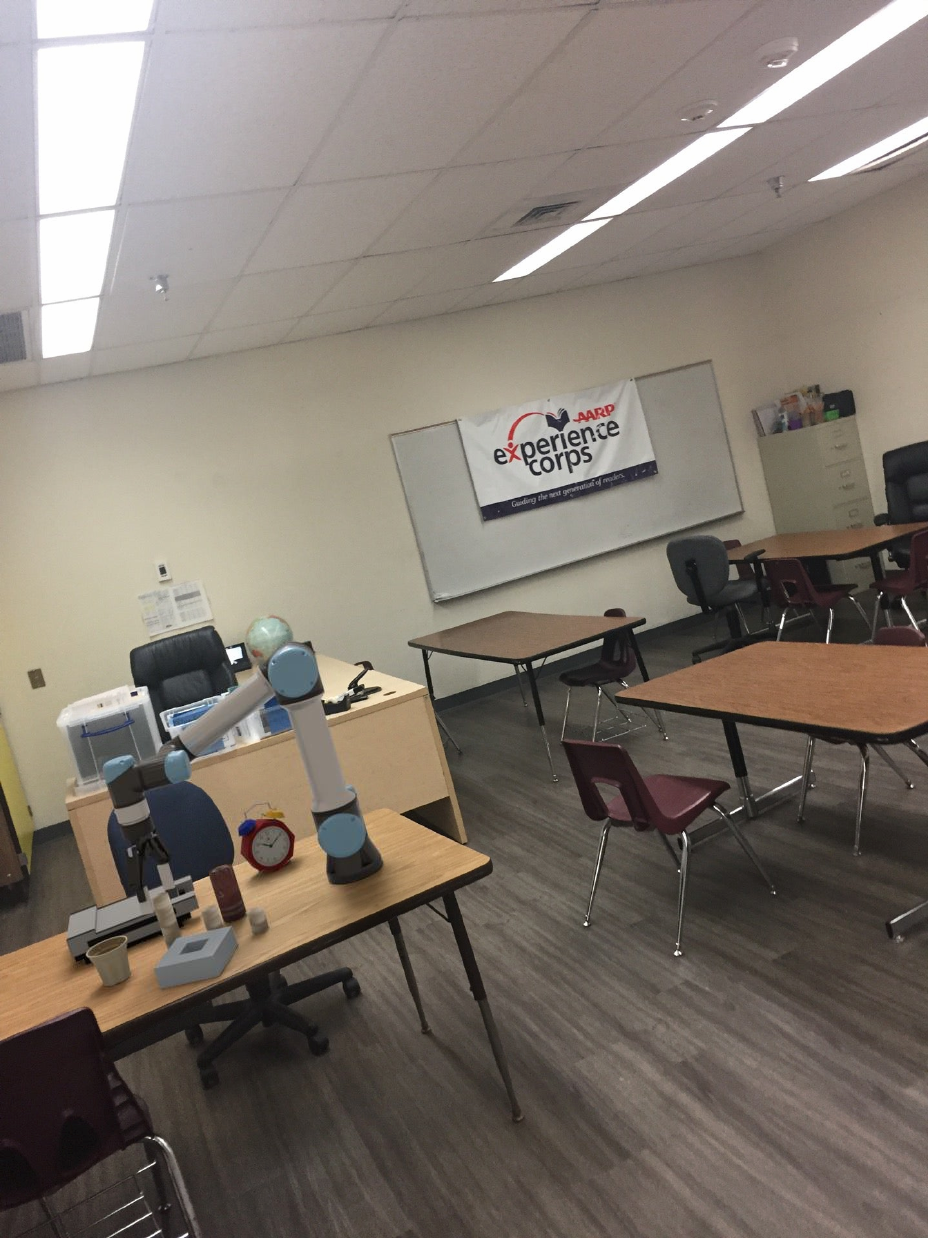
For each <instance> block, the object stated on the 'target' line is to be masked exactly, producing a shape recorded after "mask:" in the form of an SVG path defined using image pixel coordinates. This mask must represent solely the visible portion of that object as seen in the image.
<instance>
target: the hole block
mask: <svg viewBox="0 0 928 1238" xmlns="http://www.w3.org/2000/svg"><path fill="white" fill-rule="evenodd" d="M238 946H239V944H238V940H237V938H236V935H235V931H234V928H233V925H230V926H224V928H220V929H215V930H211V931H207V930H206V931H203V932H198V933H194V934H190V935H186V936H182V937H180V938H177V939H176V940H175V941H174V943H173V944H172V945H171V947H170V948H169V949H167V951H166V952H165V954H163V956H162V957H161V959H160V960H159V961H158V963H157V964H156V965H155V967H154V974H155V976H156V978H157V982H158V985H159V988H160V989H161V990H162V989H166V988H171V987H175V986H179V985H183V984H189V983H193V982H197V981H199V982H200V981H203V980H207V979H211V978H215V977H220V975H221V974H222V972H223V971H224V969H225V967H226V966H227V964H228V963H229V960H230V959H231V957H232V956H233V955H234V953H235V951H236V949H237V948H238Z"/></svg>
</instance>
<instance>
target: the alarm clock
mask: <svg viewBox="0 0 928 1238" xmlns="http://www.w3.org/2000/svg"><path fill="white" fill-rule="evenodd" d="M259 805H267V806H268V808H269V809H268V810H267V812H266V813H264V812H260V816H261V818H257V819H253V818H249V819H248V817H247V813H248V812H249V811H250V810H252V809H253V808H254V807H256V806H259ZM243 813H244V818H245V819H244V820H243V821H242V820H241V822H240V823H241V824H239V826H238V827H237V832H238V837H241V843H240V854H241V856H242V857H243V858H244V859H245V860H246V861H247V862H248V864H250V866H251V867H252V868H253V869H255V870H257V875H258V876H259V877H260V876H261V875H262V873H263V872H272V871H280V869H282V868H283V867H284V866H285V865H286V864H288V862H292V857H294V852H295V839H296V835H295V834H294V833H293V831H292V830H290V828H289V827H288V826H287V825H286V824H285V822H283V821H282V820H280V819H285V818H286V815H285V814H284V812H283V811H282V810H279V809H277V807H276V806H274V808H273V807H272V806H271V804H270V803H269V801H268V802H258V803H254V804H253V805H251V807H249V808H248V809H246V810H245V811H244V812H243ZM263 817H264V818H263Z"/></svg>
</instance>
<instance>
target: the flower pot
mask: <svg viewBox="0 0 928 1238" xmlns="http://www.w3.org/2000/svg"><path fill="white" fill-rule="evenodd" d="M126 947H127V937H126V936H117V937H113V938H110V939H107V940H104V941H102V942H100V943H98V944H96V945H95V946H93V947H92V948H91V949H90V950H89V951H88V952H87V953H86V956H87V957H88V958H89V959H90V961H91V962H92V964H93V965H94V967H95V970H96V972H97V973H98V976H99V977H100V979H101V981H102V984H103V985H104V986H105V987H112V986H116V985H117V984H118V983H122V982H124V981H126V980H128V978H129V977H130V976H131V973H132V971H131V967H130V961H129V956H128V949H126Z"/></svg>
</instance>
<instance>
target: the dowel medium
mask: <svg viewBox="0 0 928 1238" xmlns="http://www.w3.org/2000/svg"><path fill="white" fill-rule="evenodd" d="M200 915H201V917H202V920H203V923H204V927H205V931H206V932H207V931H211V930H215V929H220V928H224V927H225V926H224V924H223V919H222V916H221V913H220V909H219V906H218V904H217V905H216V904H213V905H208V906H206V907H204V908H202V909H201V911H200Z"/></svg>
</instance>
